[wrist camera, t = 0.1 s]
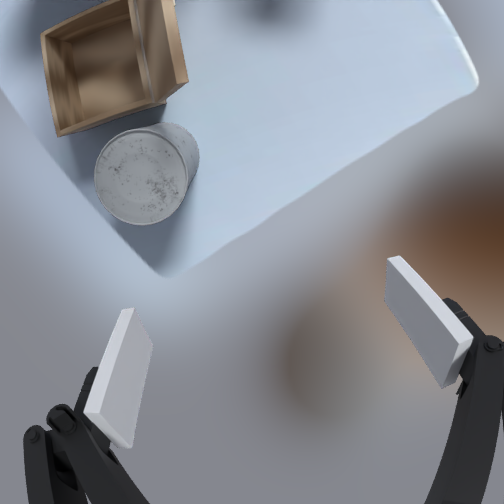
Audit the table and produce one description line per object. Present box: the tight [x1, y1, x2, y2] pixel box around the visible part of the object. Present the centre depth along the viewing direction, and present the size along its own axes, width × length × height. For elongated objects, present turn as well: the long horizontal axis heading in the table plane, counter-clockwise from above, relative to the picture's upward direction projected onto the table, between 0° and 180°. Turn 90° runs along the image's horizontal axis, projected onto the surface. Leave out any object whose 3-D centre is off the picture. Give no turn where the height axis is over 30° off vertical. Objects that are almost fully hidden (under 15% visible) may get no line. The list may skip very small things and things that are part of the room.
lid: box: [136, 0, 189, 103], centre depth 19 cm, size 14×12×1 cm
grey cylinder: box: [94, 122, 200, 226], centre depth 32 cm, size 10×10×12 cm
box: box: [40, 0, 167, 137], centre depth 28 cm, size 14×12×8 cm
